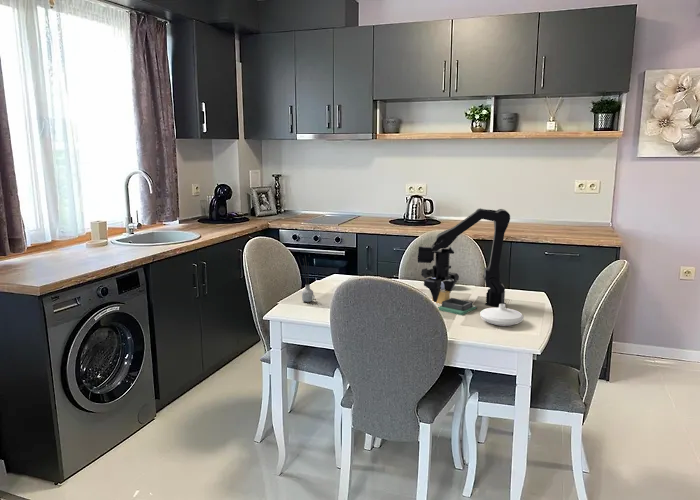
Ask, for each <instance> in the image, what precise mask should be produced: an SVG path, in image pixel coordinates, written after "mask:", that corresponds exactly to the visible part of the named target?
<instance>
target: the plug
mask: <svg viewBox="0 0 700 500" xmlns="http://www.w3.org/2000/svg"><path fill="white" fill-rule="evenodd" d="M450 295H451V292H450V291H445V289H441V290H440V293H439V296H438V299H437V302H436V303H435V304H438V303H439V305H442V302H443V301H445V300H447V299H450V298H451V296H450ZM431 298H432V299H431V302H432V301H433V297H432V296H431Z"/></svg>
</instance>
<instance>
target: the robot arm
mask: <svg viewBox="0 0 700 500" xmlns="http://www.w3.org/2000/svg"><path fill="white" fill-rule="evenodd" d="M482 220H487V221H489V222H490V221H491V222H493V225H494V226H493V227H494V233H493V238H492V239H493V240H492V246H491V252H490V259H489V263H488V266H487V267H486V266H485V267H483V274H482V278H483V280H484V283H485V284H486V287H488V289H487V292H486V294H485V296H486V297H485V301H486V303H484V305H486V306H491V307H494V308H499V304H505V305H506V304H507V303H506V302H505V299H506V298H505V295H506V291H505V290H506V287H505V286H504V283H503V282H502V281H501V275H500V274H501V273H500V263H501V259H502V258H501V255H502V251H503V250H502V249H503V246H504V238H505V233H506V231H507V229H508V226H509V224H510V220H511V215H510V213H509V212H508V211H507V210H506V209H503V208H499V209H497V210H495V209H494V210H493V209H485V208H481V207H480V208H477V209H476V210H475V211H474V212H473V213H471V214H469V215H468V216H467V217H466V218H464V219H463V220H461V221H460V222H459V223H458V224H456V225H455V226H453V227H451V228H449V229H446V230H444V231H442V232H440V233H438V234H437V236H436V237H435V242H433V244H432V245H431V246H420V245H419V246H418V249H417V251H418V253H417V263H423V264H431V263H433V261H435V263H434V265H433V266H432V268H429V269H428V268H427V267H426V268H425V267H424V268H422V269H421V274H420V275H421V276H422V277H423V279H424V281H423V286H424V287H425V288H427V289H428V290H429V291H430V294H431V298H432V297H433V301H434V302H437V299H438V296H439V293H440V290H442V289H441V287H440V286H441V282H443V283H444V286H445V289H444V290H445V291H450V293H451V292H452V290H453V289H454V287H455V285H456V283H457V282H458V281H459V280H460V278H459V274H458V273H456V272H451V271H450V269H452V265H450V255H452V254H453V255H454V254H455V250H454V249H453V248H452V247H451V245H452V243H453V242H454V241H456V239H457V237H459V236H460V235H461V234H463V233H465V232H466V231H467V230H469V229H470V228H471V227H472V226H474V225H476V224H477V223H478V222H480V221H482ZM449 246H450V247H449ZM434 278H436V279H434ZM434 302H433V303H434Z"/></svg>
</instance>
